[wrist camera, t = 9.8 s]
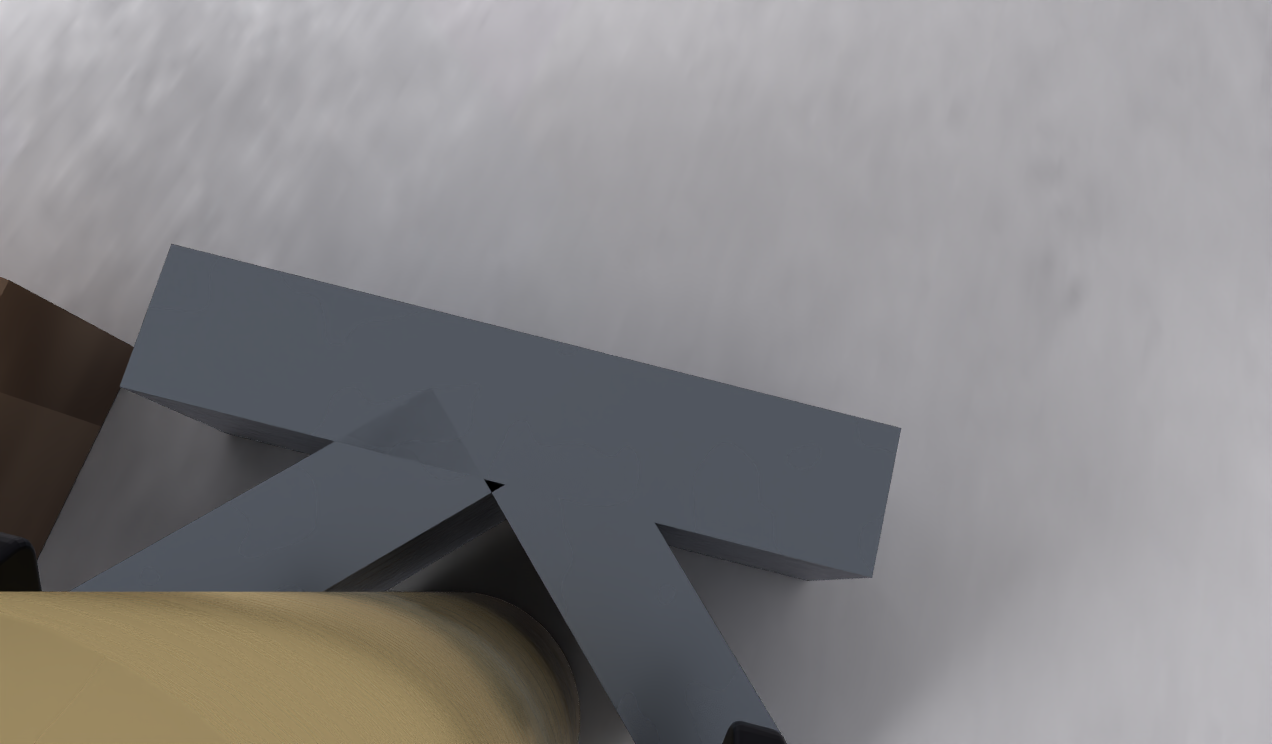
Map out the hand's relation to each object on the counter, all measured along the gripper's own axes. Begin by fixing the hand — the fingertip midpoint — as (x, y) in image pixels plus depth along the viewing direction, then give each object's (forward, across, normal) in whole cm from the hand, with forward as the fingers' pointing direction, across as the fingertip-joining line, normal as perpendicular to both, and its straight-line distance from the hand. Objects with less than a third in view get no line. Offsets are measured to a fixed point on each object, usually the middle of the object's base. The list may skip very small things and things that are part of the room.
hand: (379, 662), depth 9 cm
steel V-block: (+6, 0, +5) cm, 8 cm away
